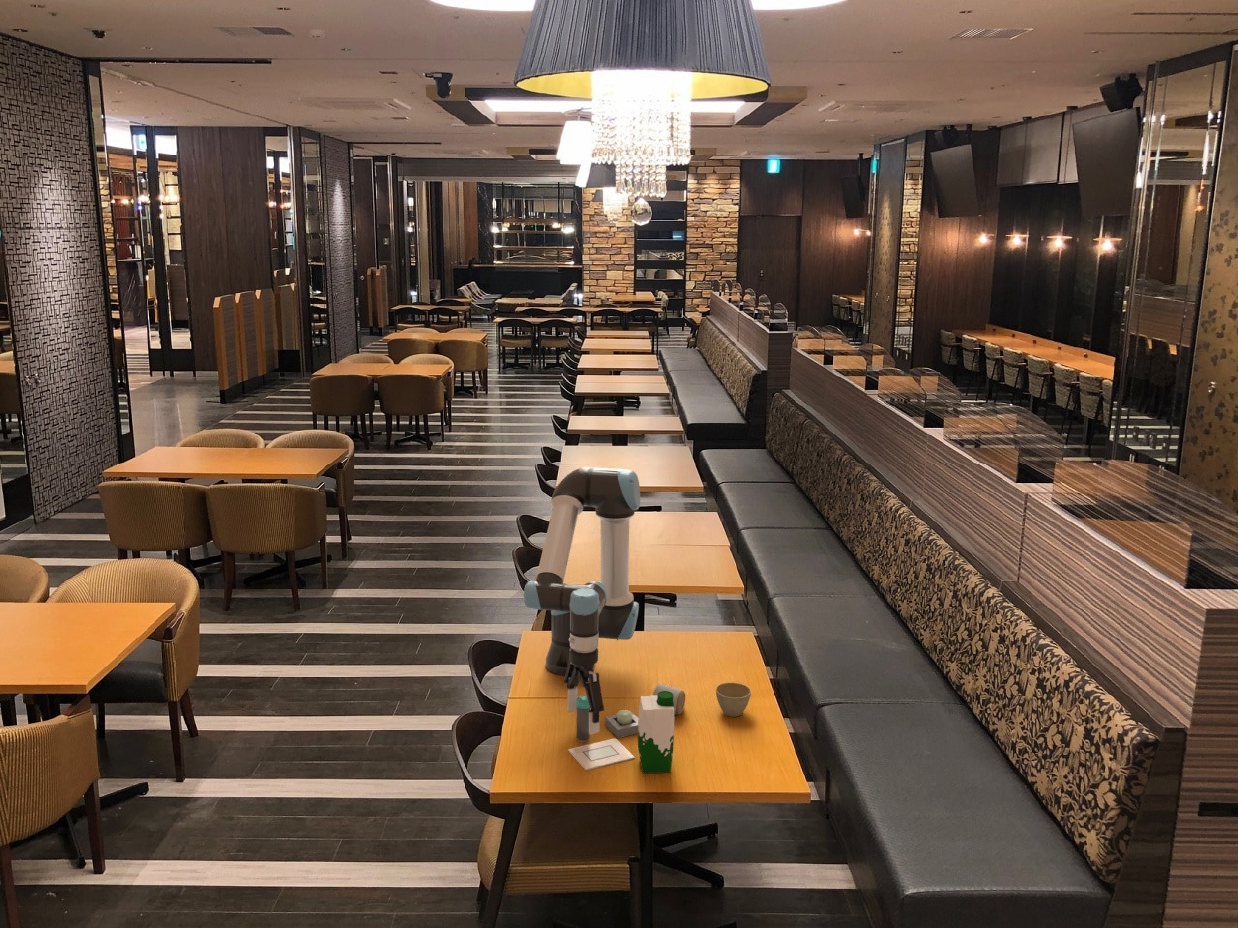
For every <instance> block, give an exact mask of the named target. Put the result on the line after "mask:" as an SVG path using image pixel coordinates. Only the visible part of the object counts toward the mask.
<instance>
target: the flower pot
mask: <svg viewBox="0 0 1238 928" xmlns="http://www.w3.org/2000/svg"><path fill="white" fill-rule="evenodd" d="M715 694H716V700H717V702H718V705H719V708H720V709H721V711H722V713H723V714H724V715H726V717H731V718H736V717H740V716H741V715H742V714H743V713H744V711H745V710H746V708H747V707H748V705H749V702H750V700H751V695H752V689H751V688H750V687H749V686H748V685H746V684H744V683H743V684H742V683H739V682H723V683H721V684H718V685H717V686H716V687H715Z"/></svg>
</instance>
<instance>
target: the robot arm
mask: <svg viewBox="0 0 1238 928" xmlns="http://www.w3.org/2000/svg"><path fill="white" fill-rule="evenodd" d="M640 505H641V488H640V480H639V478H638V474H637V473H636V471H634V470H631V469H625V468H624V469H623V468H611V467H591V466H582V467H580V468H577V469H574V470H572V471H571V472H569V473H568V474H567V475H565V476H564V478H562V479H561V481H560V482H559V483H558V484H557V486H556V487H555V489H554V491H553V494H552V497H551V500H550V509H552V510H551V515H550V518H549V523H548V527H547V531H546V536H545V538H544V539H545V541H544V544H543V548H542V552H541V556H540V561H539V564H538V569H537V573H536V577H535V580H528V581H526V584H525V586H524V591H523V603H524V605H525V607H526V608H528V609H532V610H533V609H534V610H538V611H542V610H545V611H550V614H551V642H550V646H549V648H548V651H547V655H546V658H545V668H546V669H547V670H548V671H549V672H551V673H554V674H556V675H560V676H561V675H562V676H564V678H563V683H564V684H565V685H566V688H567V705H566V706H567V709H566V710H567V712H568V713H573V712H577V706H576V704H577V698H578V697H579V695H578V694H579V689H578V687H579V682H581V686H582V688H584V690H585V693H586V696H587V698H588V701H589V705H590V710H589V734H590V735H594V734H598V733H600V715H601V712H604V711H605V706H604V701H603V695H602V689H601V685H600V684H601V683H600V674H599V672H594V667H595V665H596V664H597V663H598V661H599V648H598V647H599V638H600V639H607V640H608V639H609V640H616V641H619V640H625V641H627V640H631V639H632V638H633V636H634V633H635V630H636V625H637V620H638V616H639V610H640V609H639V608H640V606H639V605H640V604H639V603H638V602H637V601H634V594H633V593H632V592H630V591H629V586H630V584H629V583H630V582H629V580H630V577H629V576H630V519H631V518H632V517H634V516H635V511H637V510H639V508H640ZM584 507H589V508H591V507H592V508H595V516H597V517H598V518H599V519H600V581H597V580H589V581H588V582H586V583H584V584H577V583H575V584H573V583H566V582H564V579H565V575H566V570H567V566H568V562H569V557H570V553H571V549H572V544H573V540H574V536H575V531H576V526H577V521H578V517H579V515H581V514H582V512H583V510H584Z"/></svg>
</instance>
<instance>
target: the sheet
mask: <svg viewBox="0 0 1238 928" xmlns="http://www.w3.org/2000/svg"><path fill="white" fill-rule="evenodd" d="M567 751H568V752H569V754H570V755H571V756H572V757H573V758H574V759H575V760H576V762H578V763H577V764H579V765H580V766H581V767H582V768H583V769H584V770H585V771H589V770H590V771H591V770H594V769H598V768H601V767H607V766H610V765H613V764H619V763H623V762H626V761H630V760H634V759H635V756H634V755H633V754H632V753H631V752H630V751H629V750H628V749H627V748H626V747H625V746H624V745H623V744H622V743H621V742H620V741H619V740H618V739H617V738H616V737H614V738H611V739H605V740H602V741H597V742H594V743H589V744H585V745H581V746H576V747H572V748H569V749H567Z"/></svg>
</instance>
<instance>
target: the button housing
mask: <svg viewBox="0 0 1238 928" xmlns="http://www.w3.org/2000/svg"><path fill="white" fill-rule="evenodd" d="M638 717H639V716H637V715H635V714H634V713H633V712H632V723H631V724H627V725H623V726H620V725H619V724H618V723H617V713H616V714H612V715H608V716H605V717H604V725H605V727H607V729H608V730H609V731H610V732H612V733H613V734H614V736H615V737H617V738H618V739H620V738H623V737H628V736H631V735H636V734H638Z"/></svg>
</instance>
